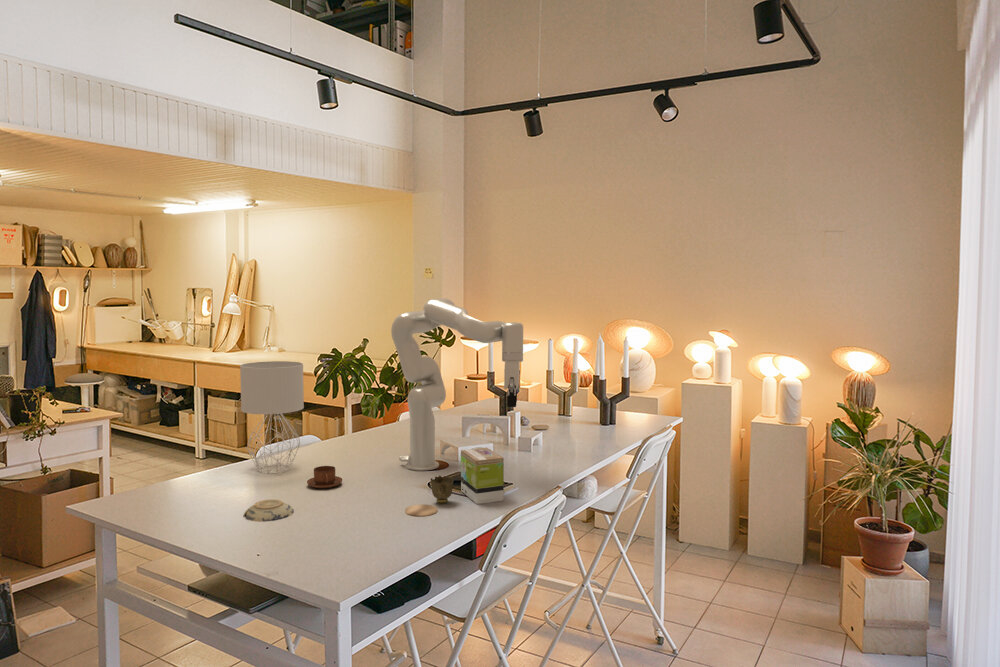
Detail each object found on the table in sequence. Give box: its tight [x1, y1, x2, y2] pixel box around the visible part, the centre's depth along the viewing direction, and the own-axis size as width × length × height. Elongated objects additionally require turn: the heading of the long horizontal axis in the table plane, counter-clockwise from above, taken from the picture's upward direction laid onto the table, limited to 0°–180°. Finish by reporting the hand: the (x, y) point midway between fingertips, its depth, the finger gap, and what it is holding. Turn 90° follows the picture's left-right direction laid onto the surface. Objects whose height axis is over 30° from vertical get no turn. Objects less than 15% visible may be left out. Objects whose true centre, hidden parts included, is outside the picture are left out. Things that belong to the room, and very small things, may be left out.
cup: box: [430, 475, 455, 505], centre depth 227 cm, size 8×7×8 cm
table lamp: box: [239, 360, 305, 475], centre depth 265 cm, size 22×22×40 cm
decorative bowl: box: [242, 499, 295, 523], centre depth 215 cm, size 15×4×15 cm
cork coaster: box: [404, 503, 438, 517], centre depth 219 cm, size 10×10×1 cm
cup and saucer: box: [306, 465, 343, 489], centre depth 246 cm, size 12×12×6 cm
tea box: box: [460, 447, 505, 505], centre depth 233 cm, size 15×10×15 cm, turn 23°
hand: (512, 404), depth 252 cm, fingers open, 9 cm apart
